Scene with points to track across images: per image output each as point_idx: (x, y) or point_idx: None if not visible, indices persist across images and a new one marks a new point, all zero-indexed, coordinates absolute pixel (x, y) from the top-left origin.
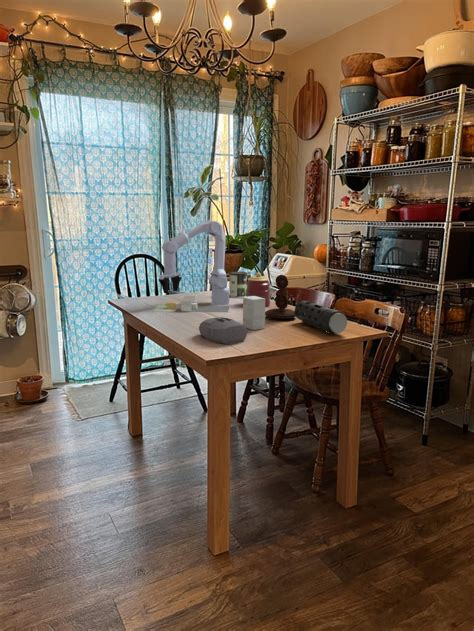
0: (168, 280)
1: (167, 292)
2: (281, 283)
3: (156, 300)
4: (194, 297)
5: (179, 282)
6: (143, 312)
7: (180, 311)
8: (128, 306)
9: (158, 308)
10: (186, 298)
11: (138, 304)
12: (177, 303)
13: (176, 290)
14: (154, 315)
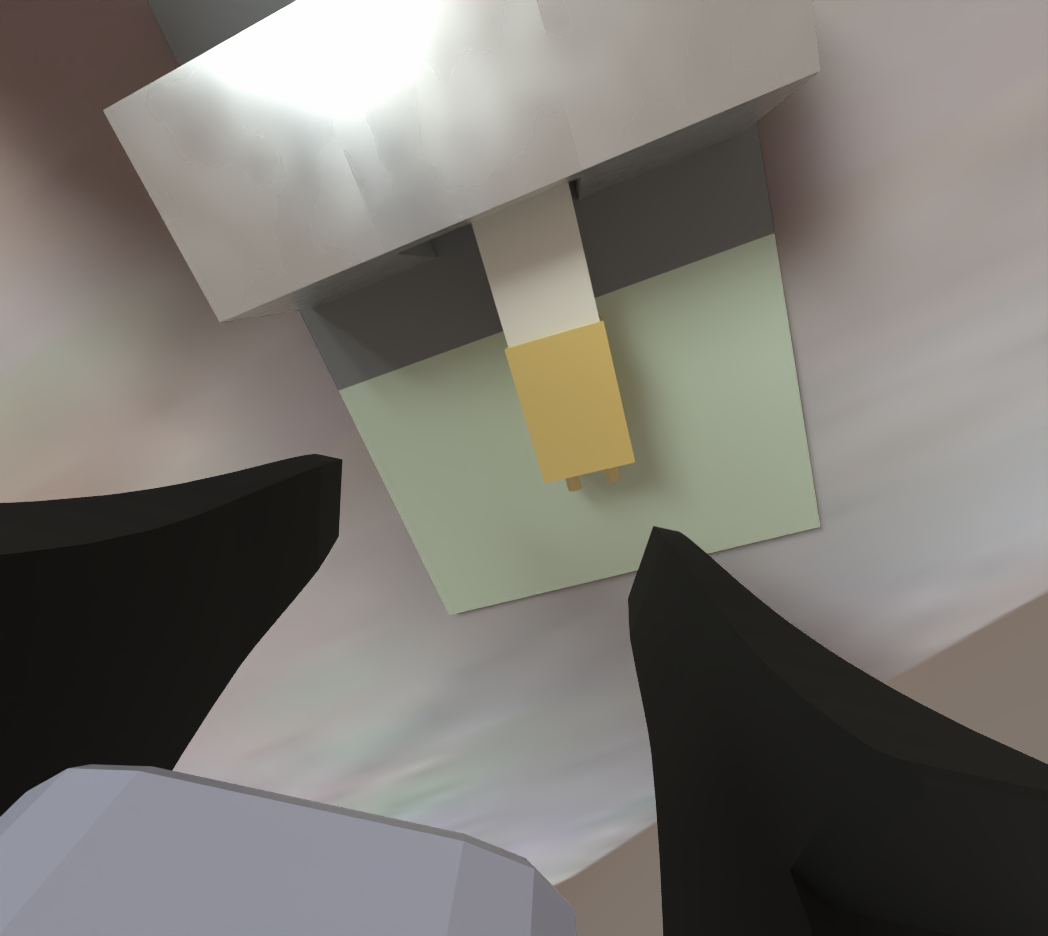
0: (1020, 780)
1: (668, 533)
2: None
3: (225, 723)
4: (137, 109)
5: (88, 498)
6: (860, 598)
7: (749, 145)
8: (600, 809)
9: (635, 535)
10: (422, 151)
11: (477, 778)
12: (577, 297)
13: (333, 466)
14: (1041, 407)
